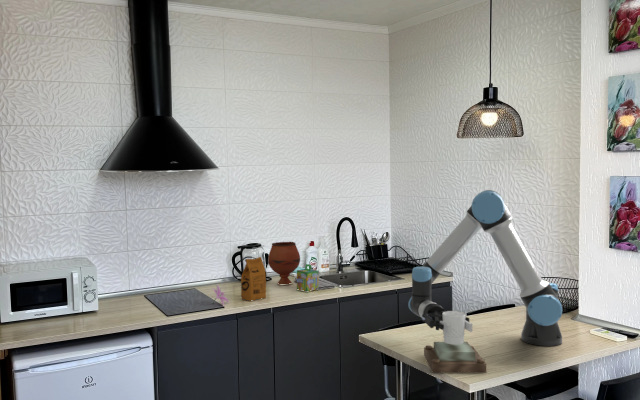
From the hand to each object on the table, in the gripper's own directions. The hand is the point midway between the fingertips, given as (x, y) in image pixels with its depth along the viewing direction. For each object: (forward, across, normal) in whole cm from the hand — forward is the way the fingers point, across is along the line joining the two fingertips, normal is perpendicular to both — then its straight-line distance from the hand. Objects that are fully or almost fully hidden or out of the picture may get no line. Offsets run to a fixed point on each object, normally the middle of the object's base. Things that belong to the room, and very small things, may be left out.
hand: (460, 328), depth 198 cm
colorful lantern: (-141, +22, -14) cm, 144 cm away
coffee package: (-128, +55, -14) cm, 140 cm away
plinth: (-5, 0, -14) cm, 14 cm away
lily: (-120, +73, -15) cm, 142 cm away
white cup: (-5, 0, -6) cm, 8 cm away
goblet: (-163, +32, -14) cm, 167 cm away
